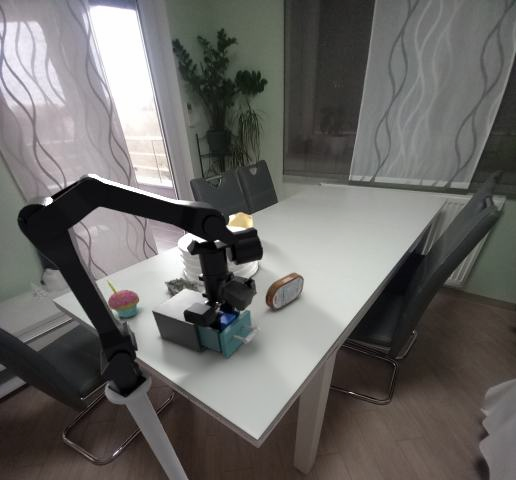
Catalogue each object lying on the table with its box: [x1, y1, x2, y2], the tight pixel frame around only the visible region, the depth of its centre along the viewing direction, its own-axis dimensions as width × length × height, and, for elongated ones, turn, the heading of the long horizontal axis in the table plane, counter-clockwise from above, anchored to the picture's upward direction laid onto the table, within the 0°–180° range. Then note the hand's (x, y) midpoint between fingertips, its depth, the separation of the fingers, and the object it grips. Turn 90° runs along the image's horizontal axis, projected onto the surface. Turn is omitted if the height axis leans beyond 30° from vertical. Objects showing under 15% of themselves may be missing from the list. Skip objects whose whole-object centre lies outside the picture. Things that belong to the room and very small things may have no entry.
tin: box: [264, 272, 305, 310], centre depth 81 cm, size 15×3×8 cm, turn 134°
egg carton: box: [164, 277, 199, 296], centre depth 91 cm, size 11×8×4 cm
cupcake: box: [106, 279, 140, 318], centre depth 80 cm, size 9×8×12 cm
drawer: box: [196, 306, 260, 359], centre depth 68 cm, size 17×11×7 cm
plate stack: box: [177, 225, 259, 286], centre depth 102 cm, size 28×28×12 cm
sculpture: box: [227, 211, 254, 229], centre depth 128 cm, size 12×12×11 cm
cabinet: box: [151, 289, 208, 353], centre depth 72 cm, size 14×13×9 cm
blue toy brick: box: [212, 311, 236, 335], centre depth 67 cm, size 4×4×4 cm
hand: (224, 328), depth 68 cm, fingers closed on blue toy brick, 4 cm apart
